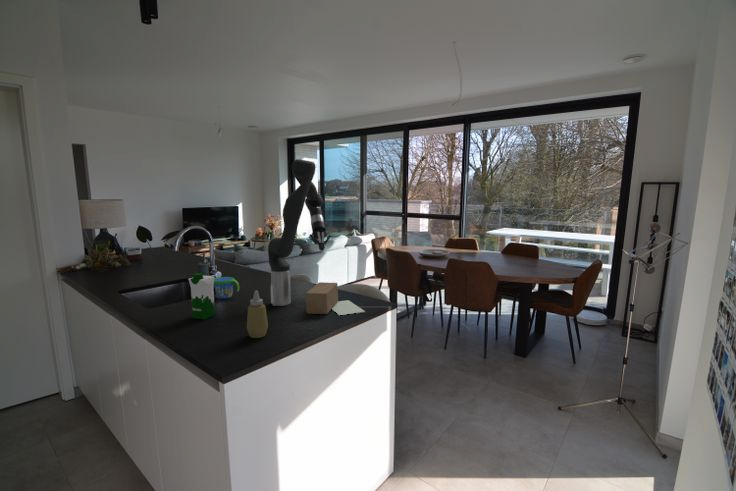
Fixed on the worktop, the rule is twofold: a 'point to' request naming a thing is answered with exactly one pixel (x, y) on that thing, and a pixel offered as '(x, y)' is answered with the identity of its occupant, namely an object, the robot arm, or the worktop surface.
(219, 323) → the worktop surface
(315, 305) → the wooden block
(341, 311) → the mat
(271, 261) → the robot arm
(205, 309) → the milk carton
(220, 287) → the snack cup
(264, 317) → the squeeze bottle
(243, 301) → the worktop surface
